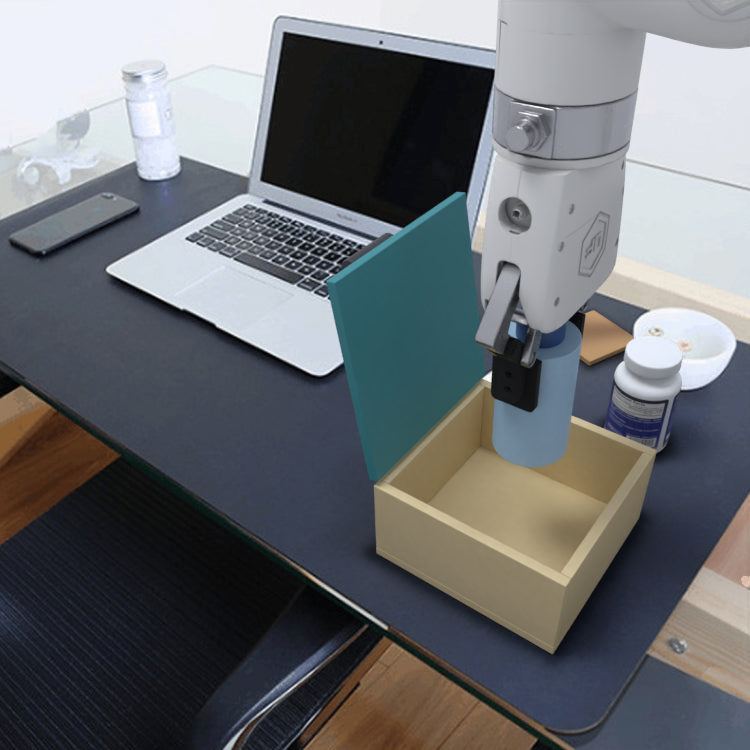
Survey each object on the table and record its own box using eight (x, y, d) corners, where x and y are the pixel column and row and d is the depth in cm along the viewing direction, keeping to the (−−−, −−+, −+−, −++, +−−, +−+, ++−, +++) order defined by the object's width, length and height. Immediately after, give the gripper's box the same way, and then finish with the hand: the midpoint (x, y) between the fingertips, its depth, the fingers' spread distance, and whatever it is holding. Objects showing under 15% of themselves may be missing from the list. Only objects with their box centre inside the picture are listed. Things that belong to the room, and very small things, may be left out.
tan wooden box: (638, 518, 66) (657, 450, 61) (552, 655, 56) (566, 586, 51) (476, 444, 73) (481, 378, 69) (375, 553, 64) (373, 485, 59)
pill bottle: (631, 409, 77) (651, 324, 71) (680, 441, 73) (705, 355, 67) (589, 432, 74) (605, 346, 68) (637, 467, 71) (659, 380, 64)
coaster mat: (638, 344, 85) (639, 340, 85) (589, 366, 82) (590, 361, 82) (592, 314, 90) (593, 309, 89) (544, 333, 87) (545, 328, 87)
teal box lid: (465, 192, 60) (417, 187, 62) (334, 282, 50) (284, 273, 52) (485, 374, 68) (443, 364, 71) (377, 482, 58) (332, 466, 61)
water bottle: (583, 449, 57) (603, 320, 50) (523, 478, 55) (536, 348, 48) (534, 408, 61) (546, 284, 54) (477, 434, 59) (482, 308, 52)
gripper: (552, 190, 36) (524, 474, 47) (685, 83, 47) (637, 336, 58) (416, 157, 40) (420, 427, 51) (568, 65, 51) (544, 305, 62)
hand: (536, 376), depth 54 cm, fingers closed on water bottle, 5 cm apart
